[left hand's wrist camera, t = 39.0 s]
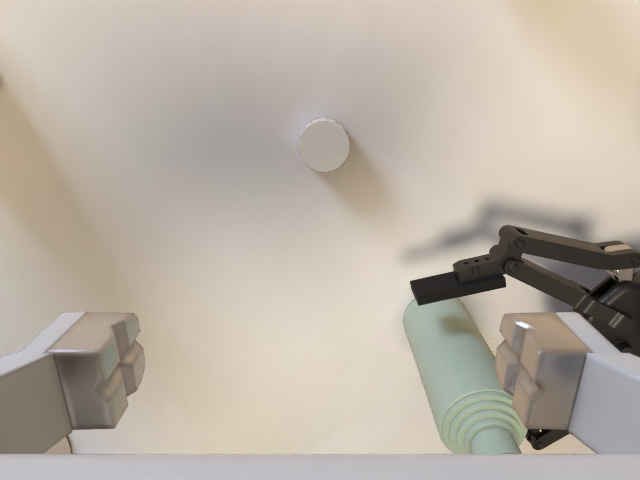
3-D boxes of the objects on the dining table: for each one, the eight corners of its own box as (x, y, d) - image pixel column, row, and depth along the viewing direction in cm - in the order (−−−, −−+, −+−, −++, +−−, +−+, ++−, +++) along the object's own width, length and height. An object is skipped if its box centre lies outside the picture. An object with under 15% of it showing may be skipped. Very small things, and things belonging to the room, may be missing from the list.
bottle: (476, 327, 43) (575, 489, 26) (422, 355, 44) (484, 528, 28) (448, 280, 41) (535, 423, 25) (391, 311, 43) (438, 467, 26)
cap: (301, 114, 36) (300, 116, 34) (352, 120, 36) (354, 122, 34) (296, 165, 38) (295, 169, 36) (345, 170, 38) (347, 175, 36)
